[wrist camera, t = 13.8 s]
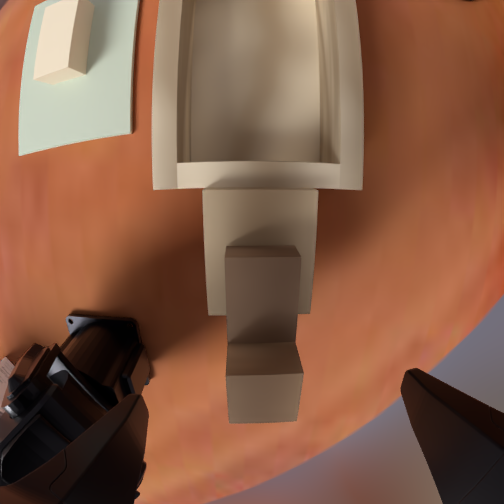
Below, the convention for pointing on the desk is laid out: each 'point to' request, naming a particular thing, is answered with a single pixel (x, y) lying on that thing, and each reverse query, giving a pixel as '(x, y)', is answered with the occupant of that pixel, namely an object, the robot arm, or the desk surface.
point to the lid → (77, 73)
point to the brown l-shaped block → (262, 333)
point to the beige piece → (257, 120)
